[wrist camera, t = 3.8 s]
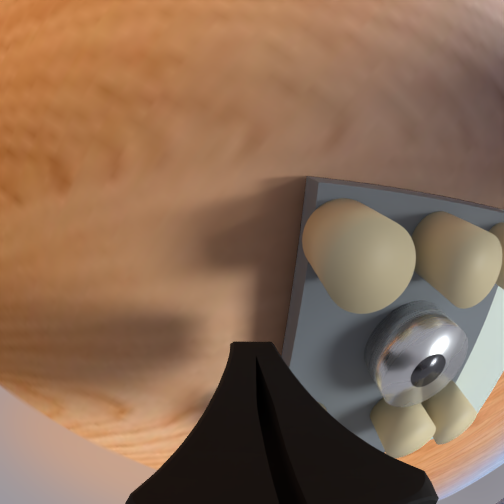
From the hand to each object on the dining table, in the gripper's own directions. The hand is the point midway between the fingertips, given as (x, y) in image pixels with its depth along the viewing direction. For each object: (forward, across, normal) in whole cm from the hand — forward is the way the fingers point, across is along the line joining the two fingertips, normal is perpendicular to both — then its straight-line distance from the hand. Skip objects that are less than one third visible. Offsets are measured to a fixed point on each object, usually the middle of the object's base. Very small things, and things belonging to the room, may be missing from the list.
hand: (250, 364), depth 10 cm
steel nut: (+1, -7, 0) cm, 7 cm away
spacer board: (+2, -9, +2) cm, 10 cm away
